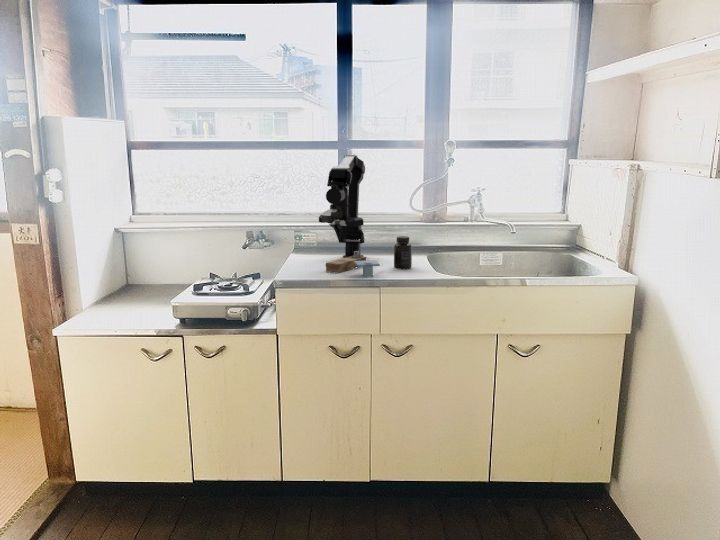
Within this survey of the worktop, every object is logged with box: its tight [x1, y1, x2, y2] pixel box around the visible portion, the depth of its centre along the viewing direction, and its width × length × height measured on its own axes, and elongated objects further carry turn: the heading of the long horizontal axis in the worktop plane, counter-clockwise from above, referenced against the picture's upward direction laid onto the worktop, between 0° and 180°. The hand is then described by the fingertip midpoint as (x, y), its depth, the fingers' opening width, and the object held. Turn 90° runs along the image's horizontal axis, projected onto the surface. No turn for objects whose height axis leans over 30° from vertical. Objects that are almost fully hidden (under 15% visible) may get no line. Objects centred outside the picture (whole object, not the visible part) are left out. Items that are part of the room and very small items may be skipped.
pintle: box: [354, 251, 359, 258], centre depth 207 cm, size 2×2×6 cm
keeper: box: [354, 259, 381, 278], centre depth 191 cm, size 7×8×4 cm
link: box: [325, 255, 367, 274], centre depth 202 cm, size 18×6×3 cm, turn 143°
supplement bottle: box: [393, 235, 413, 270], centre depth 202 cm, size 7×7×12 cm
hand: (340, 242), depth 201 cm, fingers closed
